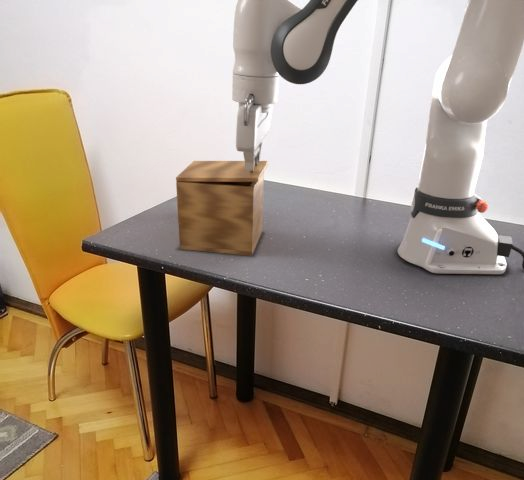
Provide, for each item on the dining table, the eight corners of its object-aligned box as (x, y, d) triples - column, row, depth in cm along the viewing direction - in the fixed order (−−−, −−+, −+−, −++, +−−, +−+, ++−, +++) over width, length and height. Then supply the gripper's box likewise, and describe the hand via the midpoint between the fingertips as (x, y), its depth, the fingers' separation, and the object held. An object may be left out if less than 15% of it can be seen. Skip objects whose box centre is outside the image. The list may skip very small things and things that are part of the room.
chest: (261, 232, 124) (264, 170, 116) (251, 255, 113) (253, 187, 105) (196, 227, 126) (193, 164, 118) (179, 249, 114) (176, 181, 107)
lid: (268, 164, 115) (267, 140, 113) (258, 182, 104) (257, 155, 101) (194, 164, 118) (191, 140, 115) (176, 181, 106) (173, 155, 104)
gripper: (263, 100, 93) (260, 180, 100) (278, 85, 110) (274, 155, 117) (228, 97, 93) (227, 177, 101) (248, 83, 110) (246, 152, 118)
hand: (252, 165), depth 109 cm, fingers closed on lid, 6 cm apart
